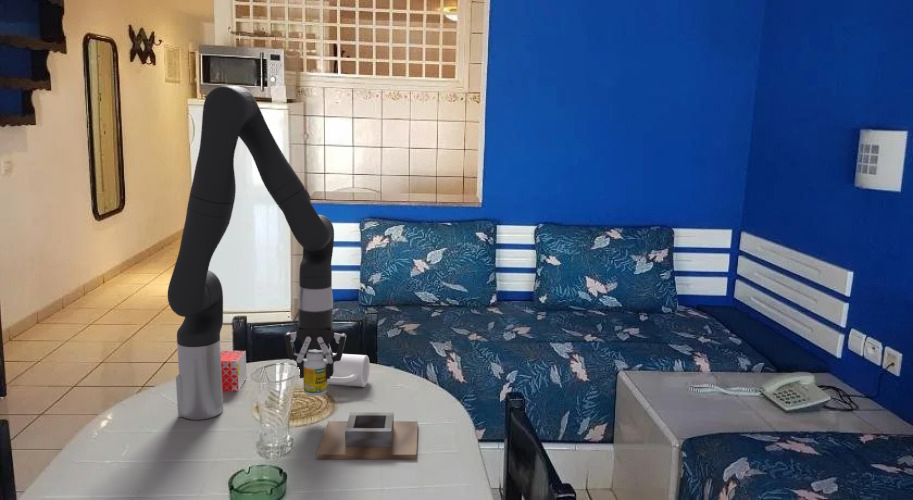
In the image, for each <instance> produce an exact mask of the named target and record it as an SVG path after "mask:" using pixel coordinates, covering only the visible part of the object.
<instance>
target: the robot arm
mask: <svg viewBox="0 0 913 500" xmlns="http://www.w3.org/2000/svg"><path fill="white" fill-rule="evenodd" d="M201 117H202V119H201V131H200V132H201V133H200V143H199V149H198V155H197V159H196V163H195V168H194V173H193V179H192V183H191V186H190V187H191V188H190V191H189V196H188V202H187V207H186V214H185V221H184V224H183V231H182V234H181V235H182V236H181V238H180V239H181V241H180V246H179V250H178V253H177V254H178V255H177V258H176V261H175V264H174V268H173V271H172V272H171V273H172V274H171V277H170V280H169V283H168V288H167V301H168V305H169V307H170V309H171V310H172V311H173V313H175V314H176V315H178V316H179V317H183V318H184V319H183V321H182V323H181V325H180V327H179V328H178V329H177V332H176V344H177V345H176V348H177V362H178V363H177V364H178V375H177V376H176V377H175V386H176V387H175V389H176V401H177V404H176V406H177V417H178V418H184V419H186V420H187V419H188V420H194V421H195V420H199V421H201V420H207V419H211V418H214V417H217V416H219V415H220V414H222V412H223V411H224V397H223V396H224V395H223V392H224V391H222V369H221V351H222V350H221V349H222V348H221V330H222V327H223V324H224V292H223V286H222V283H221V281H220V279H219V277H218V276H217V275H216V273H214V272H213V271H211V270H209V267H210V264H211V261H212V258H213V256H214V253H215V252H216V250H217V248H218V246H219V244H220V243H221V241H222V239H223V237H224V235H225V234H226V231H227V229H228V227H229V225H230V222H231V219H232V215H233V210H234V206H235V200H236V187H237V186H236V176H235V168H234V167H235V164H234V161H235V160H234V159H235V153H236V148H237V144H238V141H239V138H240V139H241V141H242V142H243V144H244V145H245V146H246V148H247V149H248V151H249V153H250V155H251V157H252V159H253V162H254V164H255V166H256V169H257V172H258V173H259V176H260V179H261V181H262V183H263V185H264V187H265V188H266V190H267V192H268V193H269V195H270V196H271V198H272V199H273V201H274V202H275V204H276V205H277V207H278V208H279V209H280V211H282V213H283V215H284V219H285V220H286V223H287V225H288V227H289V228H290V231H291V233H292V235H293V237H294V238H295V239H296V242H297V243H299V245H300V246H301V247H302V259H301V261H300V265H299V279H298V280H299V286H298V287H299V289H298V297H297V298H298V303H297V305H298V306H297V307H298V308H297V309H298V310H297V311H298V312H297V313H298V315H297V316H298V321H297V322H298V323H297V324H298V327H297V330H296V331H294V332H291V331H286V332H285V334H284V336H283V339H284V344H285V349H286V354H287V357H288V360H290V361H295V362H296V368H297V367H299V369H300V375H299V379H304V378H303V364H304V361H305V359H304V358H305V356H306V352H307V351H308V350H314V349H316V350H322V351H323V354H324V358H325V360H326V359H327V368H326V378H327V379H330V377H331V376H332V375H333V373H334V362H335V361H340V360H341V357H342V354H344V349H345V345H346V344H345V343H346V340H347V333H345V332H342V333H338V332H335V330H334V328H333V327H334V326H333V322H334V320H333V317H334V316H333V314H334V313H333V312H334V311H333V310H334V308H333V307H334V306H333V305H334V297H333V296H334V295H333V288H332V287H333V284H332V281H333V277H332V276H333V275H332V273H333V271H332V261H333V260H332V258H333V251H334V244H335V229H334V224H333V222H332V221H331V220H330V219H329V218H328V217H327V216H325V215H322V214H318V212H317V210H316V209H315V207H314V206H313V204H312V202H311V195H310V193H309V191H308V189H307V188H306V187H305V185H304V184H303V182H302V181H301V179H300V177H299V176H298V175H297V173H296V171H295V170H294V169H293V167H292V166H291V165H290V163H289V161H288V160H287V158H286V157H285V154H284V153H283V152H282V150H281V148H280V146H279V145H278V143H277V140H275V138H274V136H273V134H272V131H271V130H270V128H269V127H268V125H267V122H266V119H265V117H264V115H263V112H262V110H261V108H260V106H259V104H258V102H257V100H256V98H255V97H254V94H253V93H251V91H249V90H248V89H247V88H245V87H242V86H239V85H221V86H217V87H215V88H212V90H210V92H208V94H207V95H206V97H205V99H204V102H203V107H202V116H201ZM296 338H297V339H298V341H300V343H301V345H302V347H301V348H300V351H299V353H297V352H296V349H295V344H294V343H295V341H296ZM333 339H335V343H336V344H338V345H337V351H336V353H337V354H335V355H333V353H334V352H333V351H332V348H331V345H330V343H331V341H333Z"/></svg>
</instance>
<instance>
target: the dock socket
mask: <svg viewBox="0 0 913 500" xmlns="http://www.w3.org/2000/svg"><path fill="white" fill-rule="evenodd" d="M394 415H395V413H394V412H355V411H354V412H353V411H352V412H349V415H348V419H347V420H335V421H334V420H328V421H327V424H326V427H325V430H324V432H323V437H322V439H321V441H320V445H319V448H318V451H317V454H316V460H417V455H418V454H417V451H418V429H419V428H418V426H419V422H418V421H416V420H415V421H411V420H410V421H409V420H406V421H405V420H404V421H403V420H401V421H400V420H399V421H398V420H394V419H395V418H394Z"/></svg>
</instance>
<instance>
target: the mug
mask: <svg viewBox="0 0 913 500" xmlns="http://www.w3.org/2000/svg"><path fill="white" fill-rule="evenodd" d="M332 353H333V355H335V354H337V352H336V353H335V352H332ZM325 360H326V361H327V359H326V358H325ZM370 368H371V365H370V358H369V356H368V355H367V354H352V353H350V354H349V353H343V354H342V357H341V360H340V361H335V362H334V373H333V375H332V376H331V377H330V379H327V385H332V386H333V385H335V386H346V387H347V386H349V387H359V388H362V387H363V388H364V387H366V386H367V384H368V381H369V377H370Z"/></svg>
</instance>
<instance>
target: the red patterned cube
mask: <svg viewBox="0 0 913 500" xmlns="http://www.w3.org/2000/svg"><path fill="white" fill-rule="evenodd" d="M246 351H247V350H221V369H222V391H223V392H239V391H240V390H241V389H240V387H241V385H242V384H243V382H244V380H245V379H247V378H248V377H247V375H248V374H247V356H246V355H247V353H246ZM243 385H244V384H243ZM241 388H242V387H241ZM239 389H240V390H239Z"/></svg>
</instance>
